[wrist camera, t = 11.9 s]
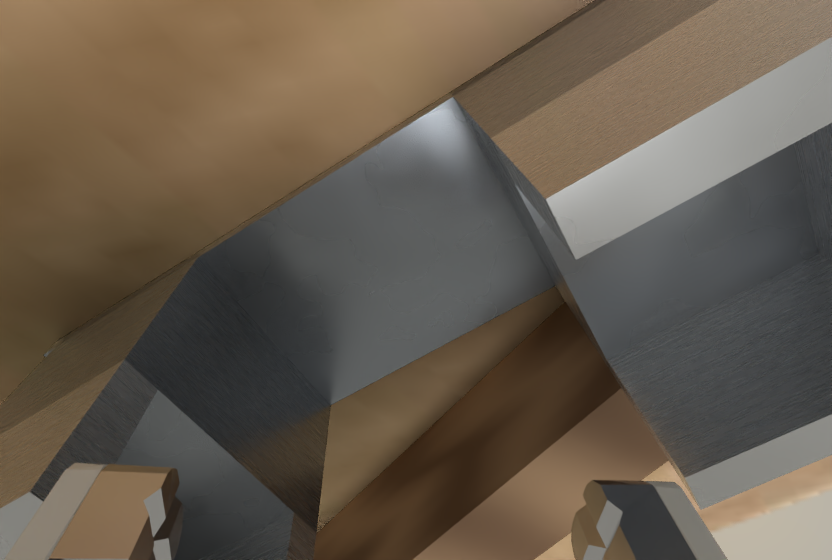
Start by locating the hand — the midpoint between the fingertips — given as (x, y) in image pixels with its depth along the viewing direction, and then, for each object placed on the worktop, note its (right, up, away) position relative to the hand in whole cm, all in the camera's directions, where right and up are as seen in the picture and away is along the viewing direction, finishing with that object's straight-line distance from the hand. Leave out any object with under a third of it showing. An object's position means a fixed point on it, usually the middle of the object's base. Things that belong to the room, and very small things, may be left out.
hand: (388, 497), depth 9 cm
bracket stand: (-1, +4, +8) cm, 9 cm away
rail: (+3, -3, +13) cm, 13 cm away
